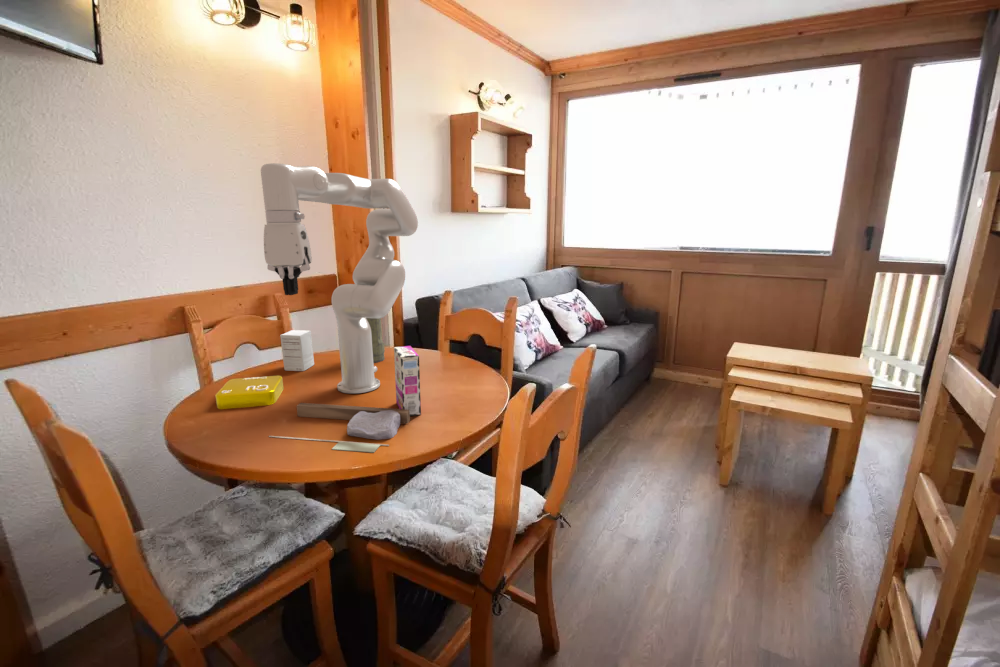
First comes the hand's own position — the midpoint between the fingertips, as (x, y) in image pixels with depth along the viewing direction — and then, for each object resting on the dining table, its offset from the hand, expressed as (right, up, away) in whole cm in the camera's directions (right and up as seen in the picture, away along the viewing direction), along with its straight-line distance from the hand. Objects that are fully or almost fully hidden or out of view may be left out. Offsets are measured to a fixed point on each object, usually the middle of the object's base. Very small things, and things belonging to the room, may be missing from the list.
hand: (291, 294), depth 119 cm
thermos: (+5, -19, +56) cm, 60 cm away
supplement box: (-18, -22, +47) cm, 55 cm away
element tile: (-20, -29, +20) cm, 40 cm away
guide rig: (+13, -33, -2) cm, 36 cm away
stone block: (+21, -34, -2) cm, 40 cm away
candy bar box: (+27, -30, +11) cm, 42 cm away
